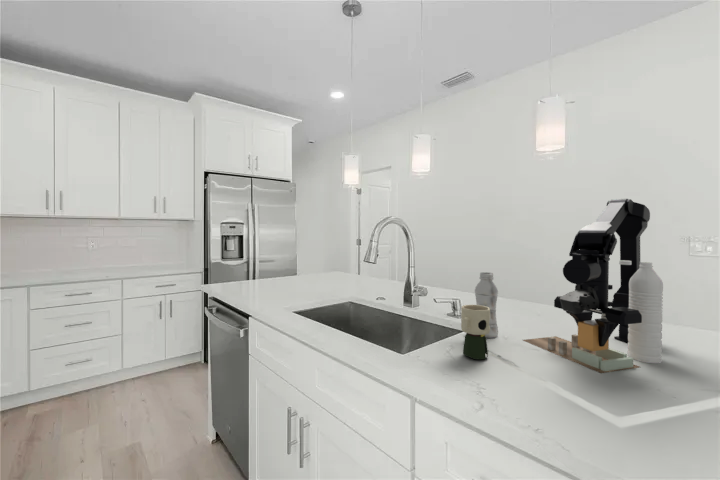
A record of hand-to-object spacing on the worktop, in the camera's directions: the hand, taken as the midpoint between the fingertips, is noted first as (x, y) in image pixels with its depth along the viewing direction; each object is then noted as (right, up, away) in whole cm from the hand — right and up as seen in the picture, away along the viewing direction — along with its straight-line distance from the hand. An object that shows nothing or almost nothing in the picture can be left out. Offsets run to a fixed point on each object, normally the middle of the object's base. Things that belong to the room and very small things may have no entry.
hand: (593, 343), depth 84 cm
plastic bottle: (-19, -5, +20) cm, 28 cm away
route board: (-1, -5, +5) cm, 7 cm away
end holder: (+1, -4, -2) cm, 4 cm away
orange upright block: (0, -1, 0) cm, 1 cm away
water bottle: (+12, -5, +2) cm, 14 cm away
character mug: (-27, -5, +5) cm, 28 cm away
